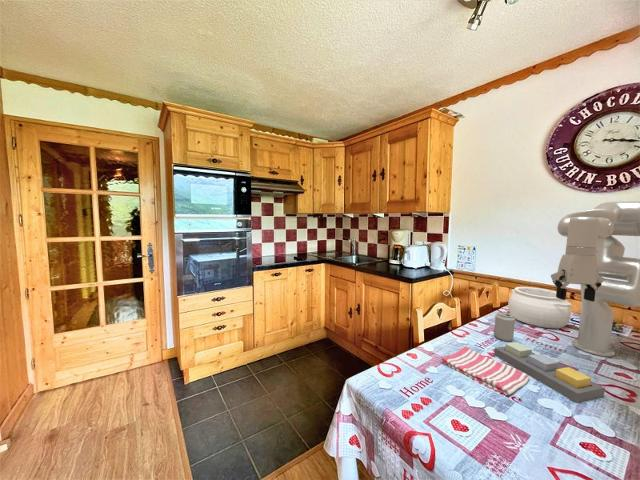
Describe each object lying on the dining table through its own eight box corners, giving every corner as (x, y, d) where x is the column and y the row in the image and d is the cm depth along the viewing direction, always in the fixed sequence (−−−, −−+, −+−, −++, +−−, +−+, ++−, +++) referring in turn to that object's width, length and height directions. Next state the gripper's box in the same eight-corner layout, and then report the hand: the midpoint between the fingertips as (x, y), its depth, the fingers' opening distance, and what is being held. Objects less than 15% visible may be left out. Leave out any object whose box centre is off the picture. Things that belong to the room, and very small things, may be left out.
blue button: (539, 361, 96) (540, 353, 96) (558, 370, 91) (558, 362, 90) (527, 363, 95) (528, 355, 95) (545, 372, 89) (546, 364, 89)
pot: (494, 313, 153) (496, 286, 151) (528, 309, 159) (530, 284, 158) (546, 334, 125) (549, 301, 124) (585, 329, 132) (588, 298, 130)
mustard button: (567, 375, 88) (568, 367, 88) (590, 386, 82) (591, 377, 82) (555, 377, 86) (556, 369, 86) (576, 389, 81) (577, 380, 80)
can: (516, 342, 116) (518, 317, 115) (498, 341, 117) (500, 315, 116) (508, 335, 123) (510, 311, 122) (490, 333, 125) (492, 310, 124)
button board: (516, 351, 108) (517, 344, 108) (603, 396, 81) (604, 387, 81) (494, 354, 105) (494, 348, 105) (576, 402, 78) (577, 393, 78)
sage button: (516, 349, 105) (516, 342, 105) (531, 356, 99) (532, 349, 99) (504, 350, 104) (505, 343, 103) (519, 358, 98) (520, 351, 98)
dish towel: (463, 351, 108) (463, 344, 108) (530, 381, 89) (531, 372, 89) (440, 363, 99) (440, 355, 99) (510, 400, 80) (511, 389, 79)
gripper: (594, 252, 93) (589, 298, 94) (546, 249, 94) (541, 295, 95) (617, 254, 86) (611, 304, 87) (564, 251, 86) (559, 301, 87)
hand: (574, 299), depth 91 cm, fingers open, 9 cm apart
